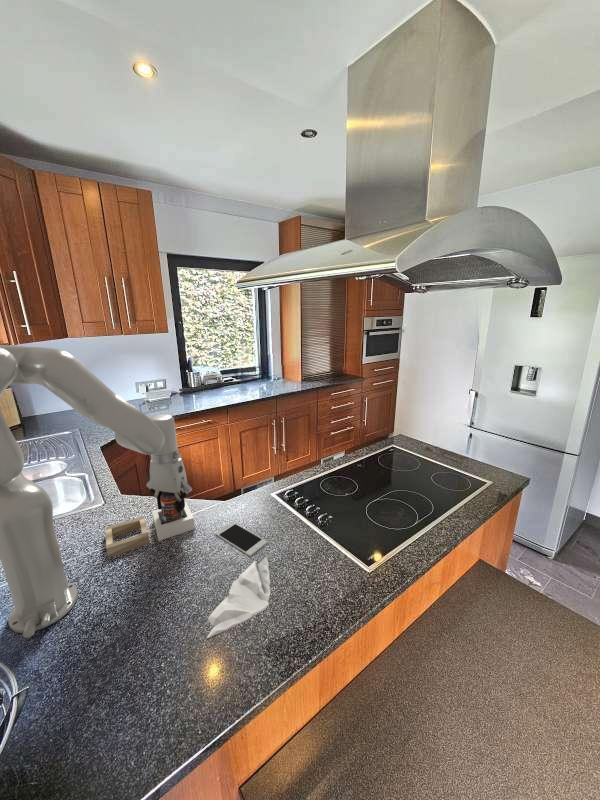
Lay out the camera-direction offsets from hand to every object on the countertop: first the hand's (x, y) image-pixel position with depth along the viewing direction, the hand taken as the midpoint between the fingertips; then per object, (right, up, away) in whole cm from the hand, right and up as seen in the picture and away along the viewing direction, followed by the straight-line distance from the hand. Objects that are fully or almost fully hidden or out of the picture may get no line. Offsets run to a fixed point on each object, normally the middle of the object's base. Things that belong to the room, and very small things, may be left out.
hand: (171, 508), depth 101 cm
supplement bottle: (0, -4, +1) cm, 4 cm away
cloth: (+27, -14, -23) cm, 38 cm away
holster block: (-11, -8, -5) cm, 14 cm away
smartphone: (+22, -8, -4) cm, 24 cm away
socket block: (0, -6, +2) cm, 6 cm away
